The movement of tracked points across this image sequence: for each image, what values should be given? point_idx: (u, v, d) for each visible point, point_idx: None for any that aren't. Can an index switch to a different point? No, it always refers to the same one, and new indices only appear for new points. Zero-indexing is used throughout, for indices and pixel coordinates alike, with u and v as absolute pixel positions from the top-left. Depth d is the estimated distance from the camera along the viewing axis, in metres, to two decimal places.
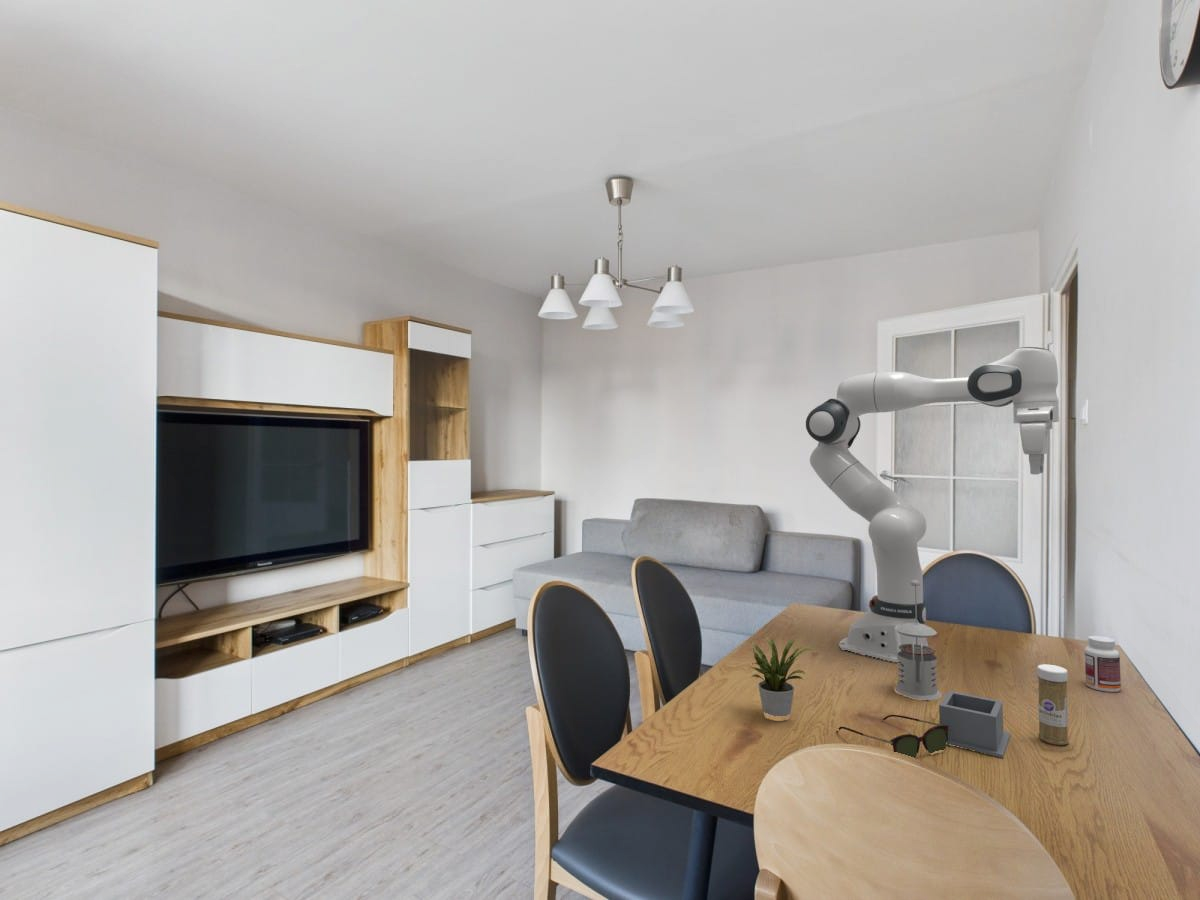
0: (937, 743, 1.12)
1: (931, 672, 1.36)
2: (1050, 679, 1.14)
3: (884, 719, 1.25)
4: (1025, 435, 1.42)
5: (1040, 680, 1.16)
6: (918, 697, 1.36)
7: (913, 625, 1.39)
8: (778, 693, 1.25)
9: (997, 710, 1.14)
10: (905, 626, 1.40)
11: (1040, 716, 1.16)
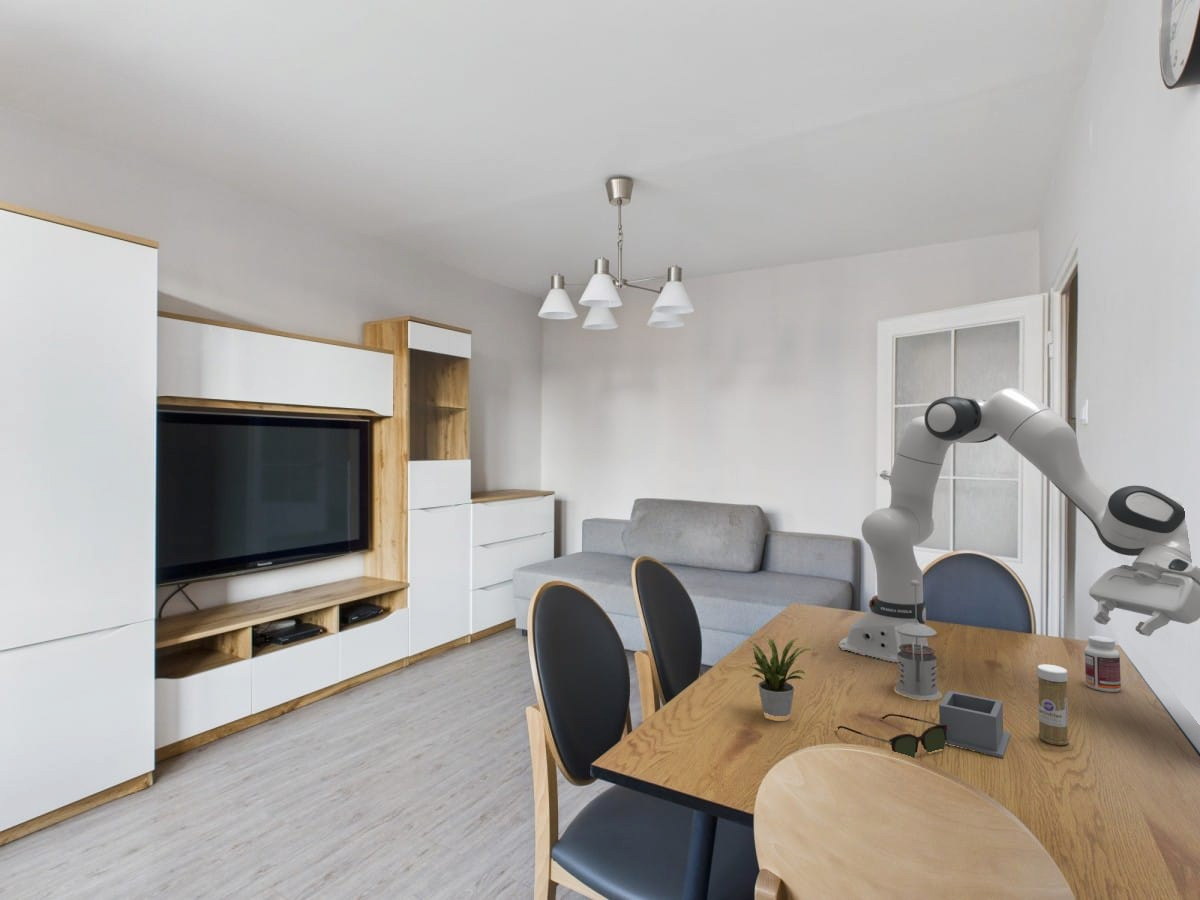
0: (936, 743, 1.12)
1: (931, 672, 1.36)
2: (1050, 679, 1.14)
3: (883, 718, 1.25)
4: (1193, 595, 1.08)
5: (1040, 680, 1.16)
6: (918, 697, 1.36)
7: (913, 625, 1.39)
8: (778, 693, 1.25)
9: (997, 710, 1.14)
10: (905, 626, 1.40)
11: (1040, 716, 1.16)
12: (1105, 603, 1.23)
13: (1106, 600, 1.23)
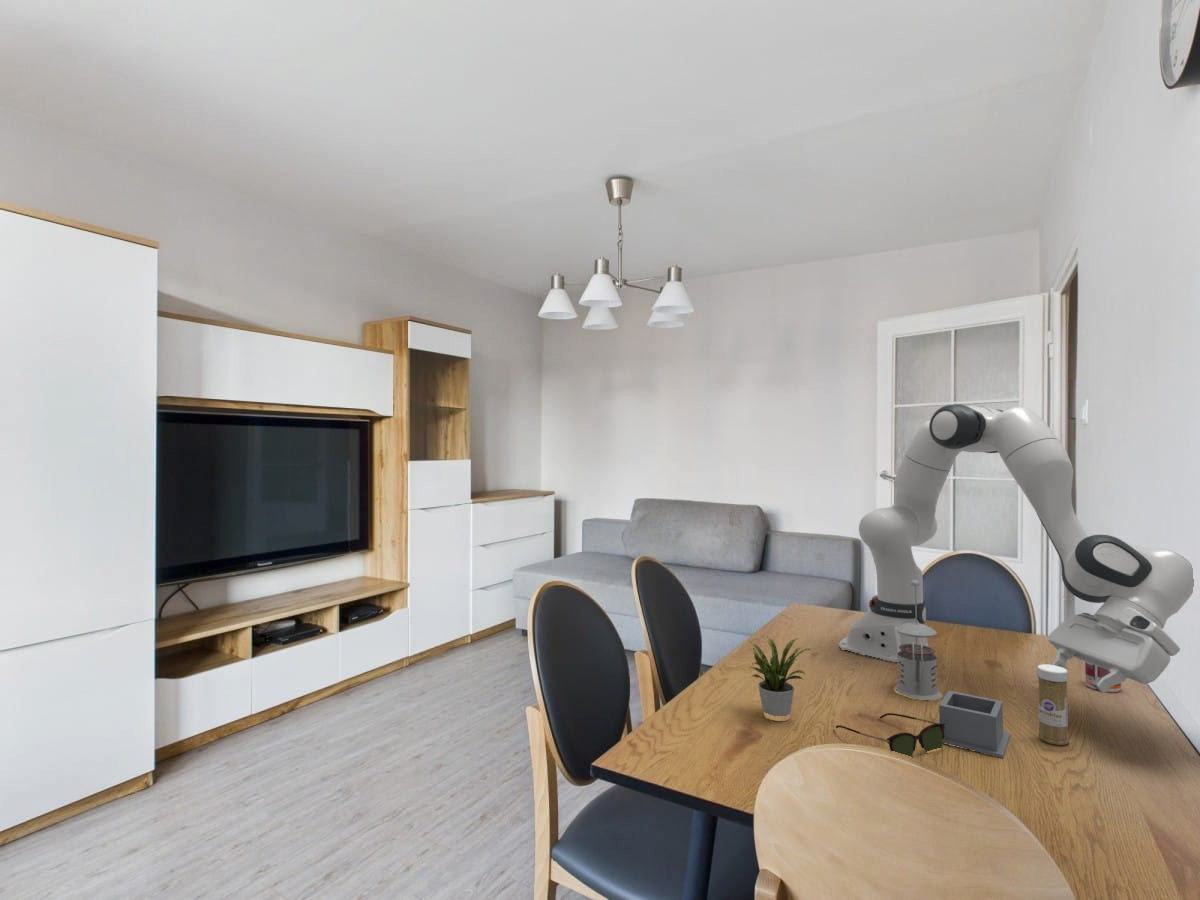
0: (934, 741, 1.13)
1: (931, 672, 1.36)
2: (1050, 679, 1.14)
3: (881, 717, 1.26)
4: (1152, 656, 1.07)
5: (1040, 680, 1.16)
6: (918, 697, 1.36)
7: (913, 625, 1.39)
8: (778, 693, 1.25)
9: (997, 710, 1.14)
10: (905, 626, 1.40)
11: (1040, 716, 1.16)
12: (1064, 652, 1.21)
13: (1065, 649, 1.22)
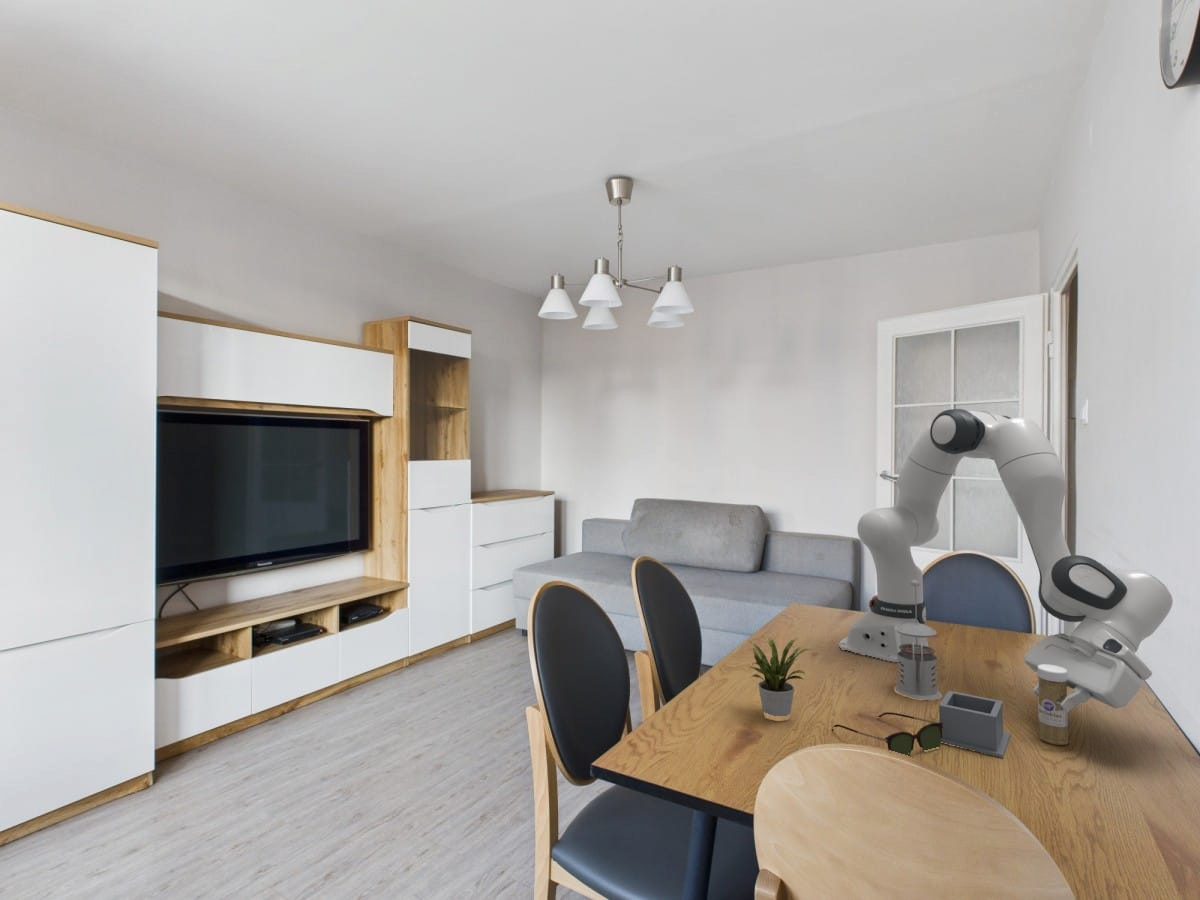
0: (932, 740, 1.13)
1: (931, 672, 1.36)
2: (1050, 679, 1.14)
3: None
4: (1123, 680, 1.06)
5: (1040, 680, 1.16)
6: (918, 697, 1.36)
7: (913, 625, 1.39)
8: (778, 693, 1.25)
9: (997, 710, 1.14)
10: (905, 626, 1.40)
11: (1040, 716, 1.16)
12: None
13: None
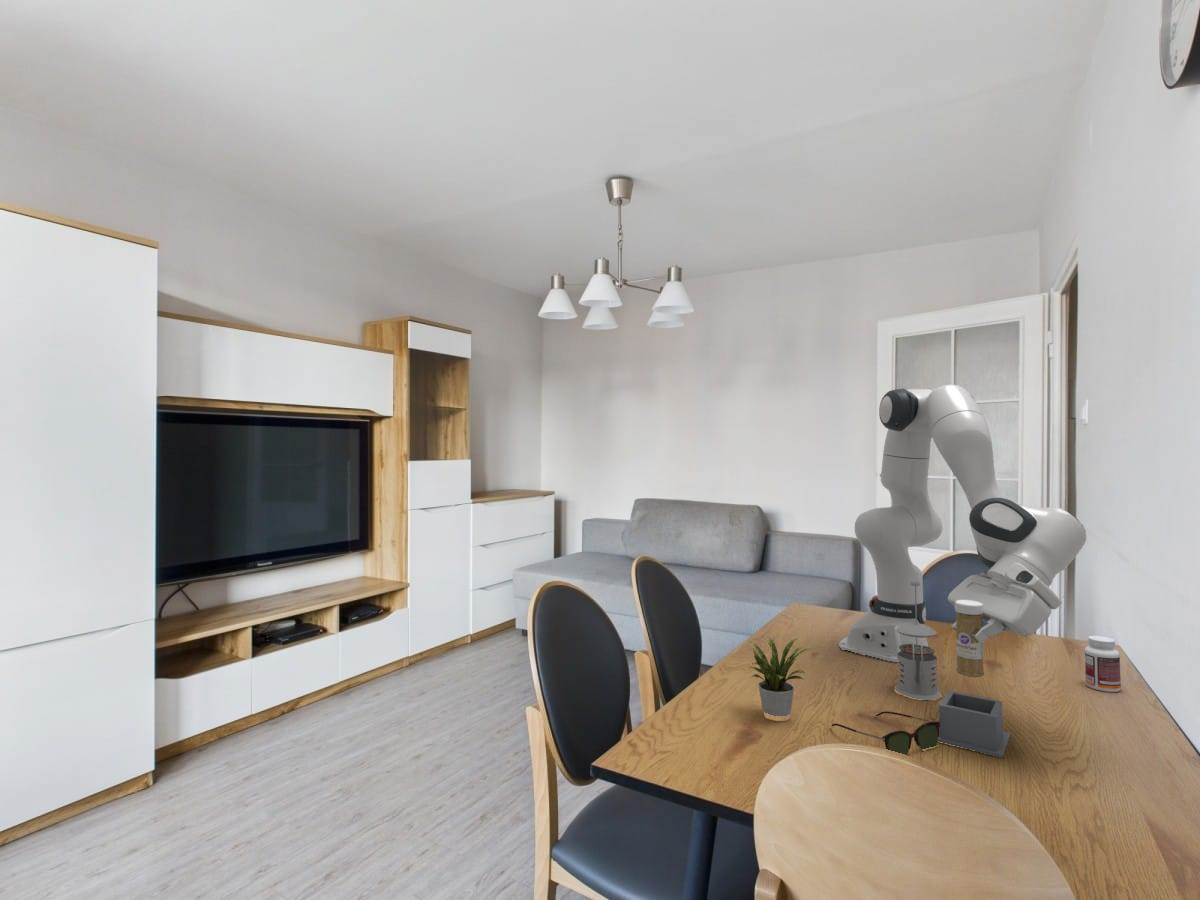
0: (929, 739, 1.13)
1: (931, 672, 1.36)
2: (966, 612, 1.16)
3: None
4: (1031, 608, 1.08)
5: (957, 614, 1.18)
6: (918, 697, 1.36)
7: (913, 625, 1.39)
8: (778, 693, 1.25)
9: (997, 710, 1.14)
10: (905, 626, 1.40)
11: (957, 650, 1.18)
12: None
13: None
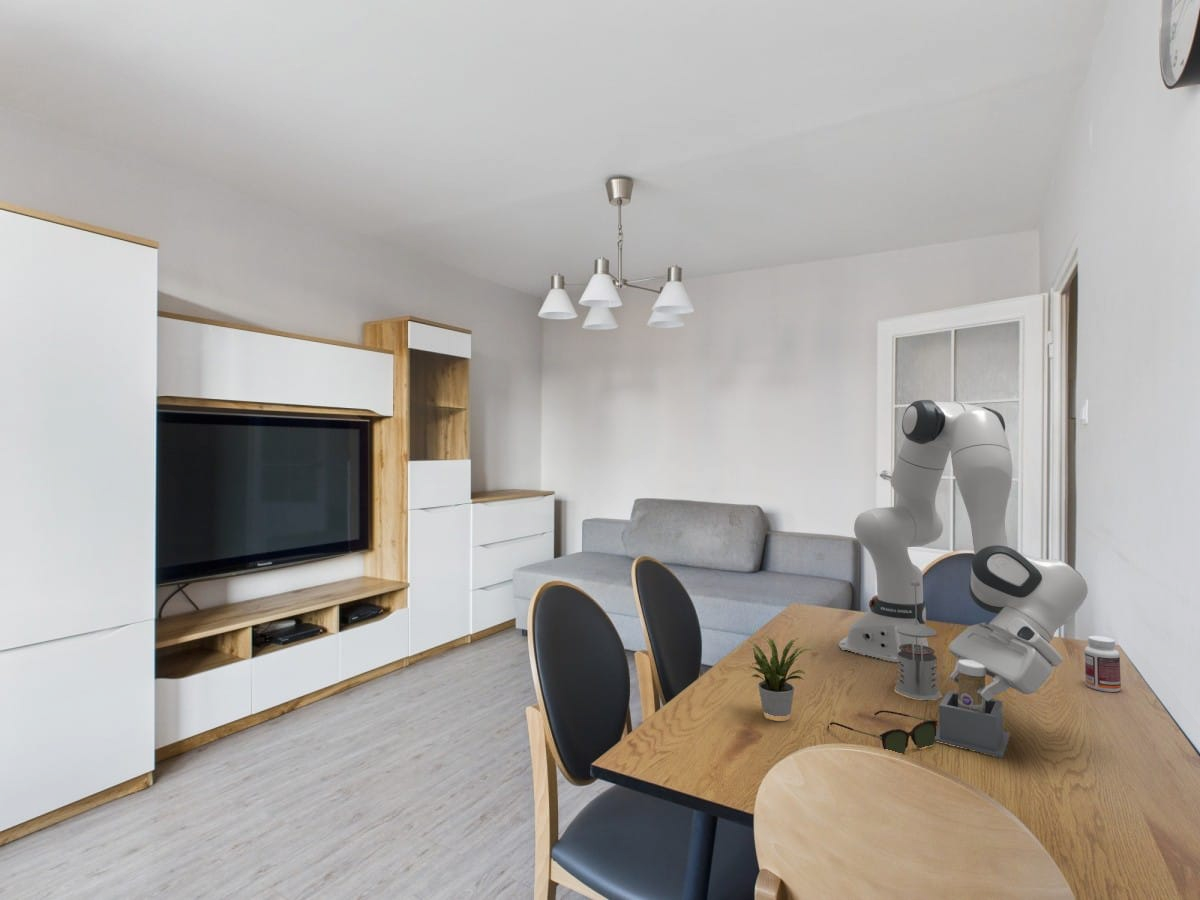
0: (926, 738, 1.14)
1: (931, 672, 1.36)
2: (969, 674, 1.16)
3: None
4: (1033, 667, 1.08)
5: (960, 674, 1.18)
6: (918, 697, 1.36)
7: (913, 625, 1.39)
8: (778, 693, 1.25)
9: (997, 710, 1.14)
10: (905, 626, 1.40)
11: None
12: None
13: None
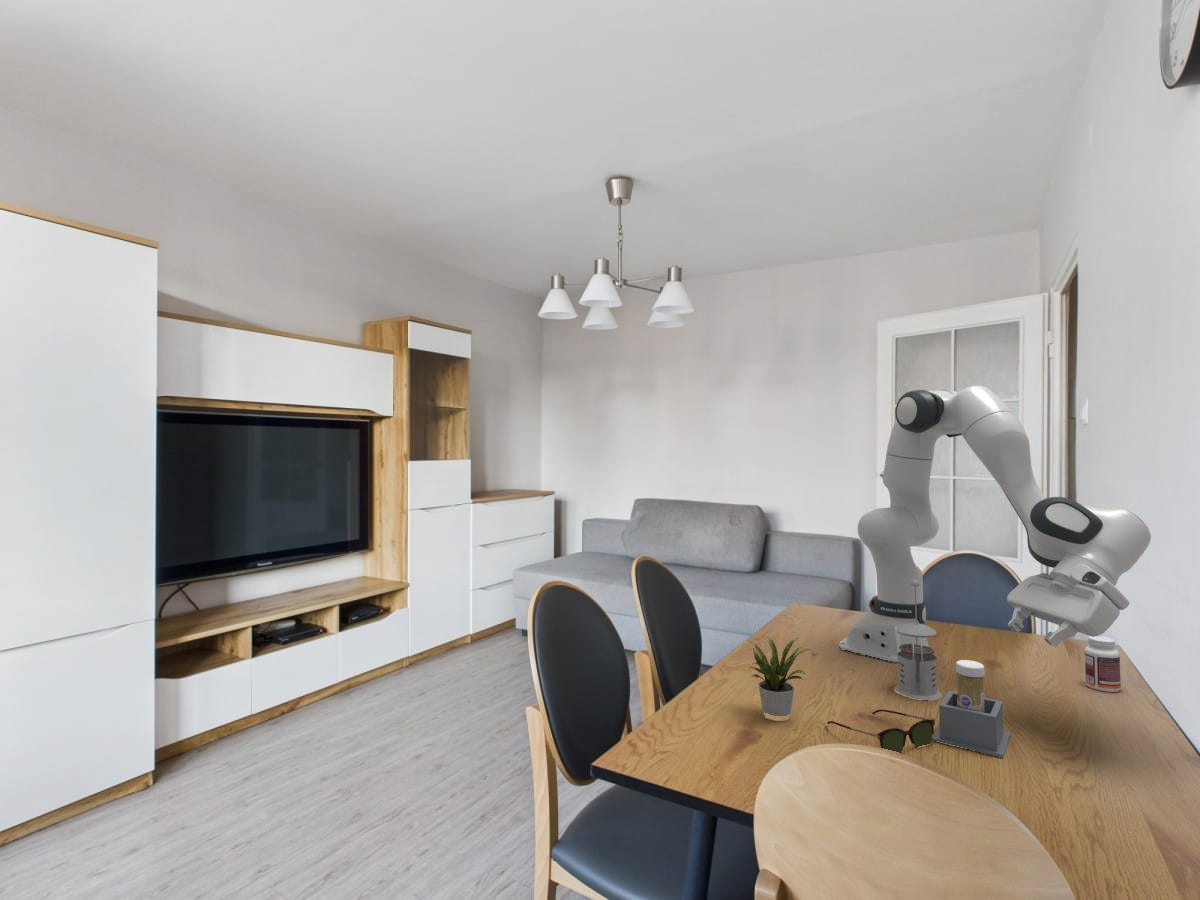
0: (923, 737, 1.14)
1: (931, 672, 1.36)
2: (967, 675, 1.15)
3: None
4: (1101, 609, 1.09)
5: (958, 675, 1.17)
6: (918, 697, 1.36)
7: (913, 625, 1.39)
8: (778, 693, 1.25)
9: (997, 710, 1.14)
10: (905, 626, 1.40)
11: None
12: (1020, 610, 1.23)
13: (1021, 607, 1.23)
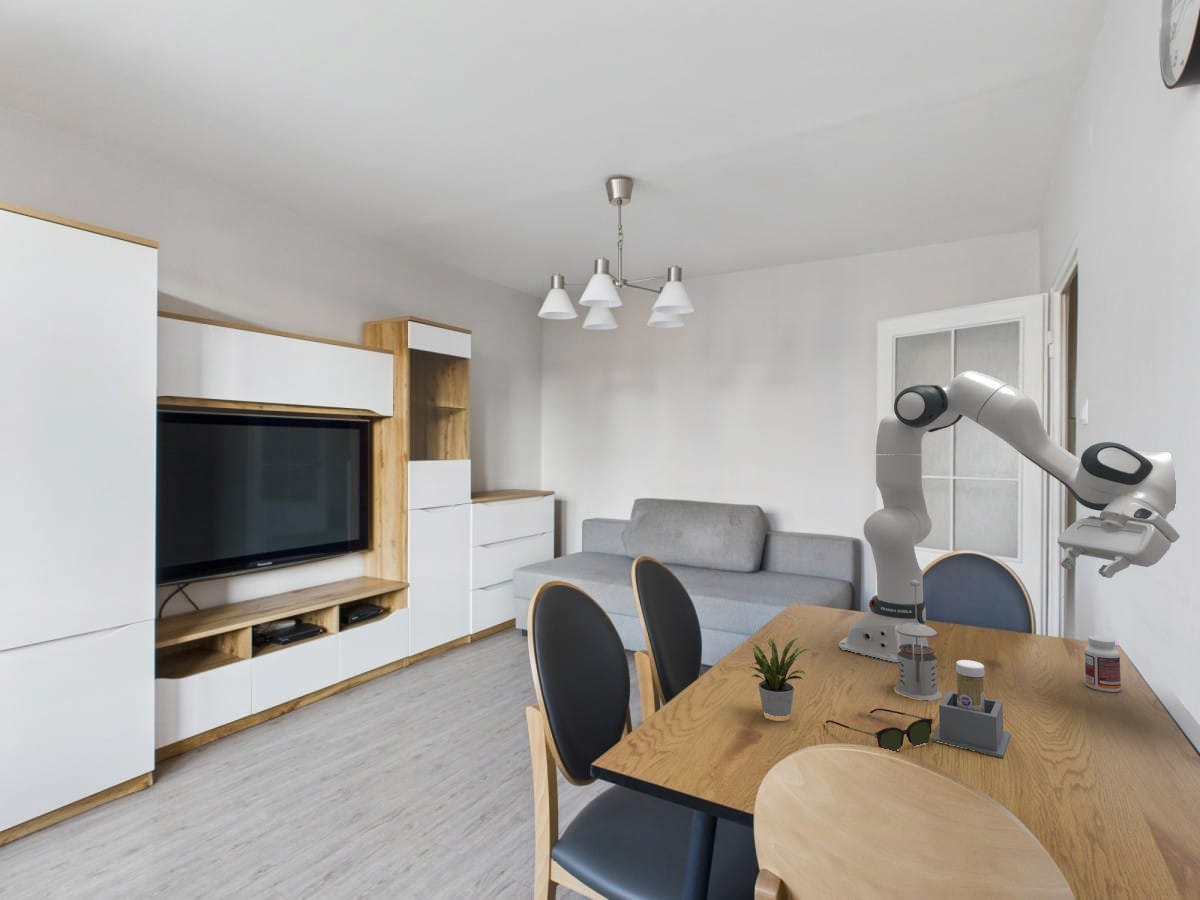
0: (921, 736, 1.15)
1: (931, 672, 1.36)
2: (967, 674, 1.16)
3: None
4: (1154, 540, 1.16)
5: (958, 675, 1.17)
6: (918, 697, 1.36)
7: (913, 625, 1.39)
8: (778, 693, 1.25)
9: (997, 710, 1.14)
10: (905, 626, 1.40)
11: None
12: (1072, 550, 1.31)
13: (1073, 547, 1.31)
